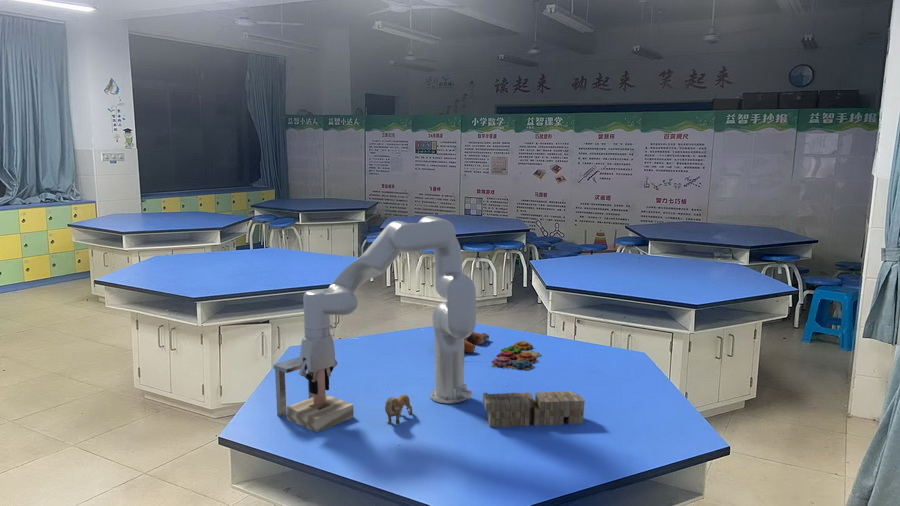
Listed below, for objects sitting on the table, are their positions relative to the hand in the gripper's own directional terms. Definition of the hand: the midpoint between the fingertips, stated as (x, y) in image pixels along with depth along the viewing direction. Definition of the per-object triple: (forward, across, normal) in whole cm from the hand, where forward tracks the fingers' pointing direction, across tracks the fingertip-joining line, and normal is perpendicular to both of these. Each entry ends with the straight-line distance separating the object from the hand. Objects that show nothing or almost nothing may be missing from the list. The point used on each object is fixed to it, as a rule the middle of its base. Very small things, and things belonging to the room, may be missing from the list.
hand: (319, 390), depth 194 cm
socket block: (+9, 0, 0) cm, 9 cm away
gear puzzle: (+9, -88, +13) cm, 89 cm away
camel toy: (+9, -83, -12) cm, 85 cm away
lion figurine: (+9, -14, +19) cm, 26 cm away
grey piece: (+9, 0, -9) cm, 12 cm away
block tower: (+9, -40, +50) cm, 65 cm away
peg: (+4, 0, 0) cm, 4 cm away
